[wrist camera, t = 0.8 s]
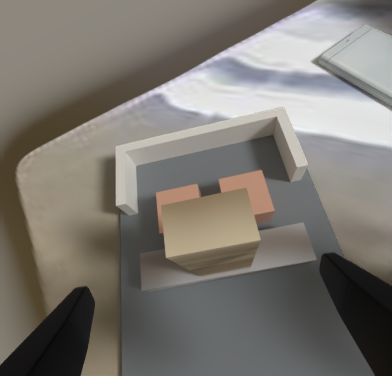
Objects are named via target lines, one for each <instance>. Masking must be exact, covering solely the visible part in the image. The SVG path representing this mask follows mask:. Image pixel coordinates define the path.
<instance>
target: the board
mask: <svg viewBox="0 0 392 376" xmlns="http://www.w3.org/2000/svg"><path fill="white" fill-rule="evenodd" d="M259 170H262V172H263V175H264V178H265V182H266V185H267V188H268V191H269V194H270V197H271V200H272V204H273V207H274V210H275V212H274V214H273V217H272V219H271V221H269V222H264V223H259V224H257V228H258V231H261V230H266V229H271V228H277V227H282V226H287V225H292V224H297V223H304V225H305V228H306V231H307V234H308V236H309V239H310V242H311V244H312V247H313V250H314V253H315V255H316V258H317V260H316V261H314V262H312V263H309V264H305V265H300V266H294V267H288V268H283V269H277V270H271V271H266V272H260V273H254V274H249V275H243V276H237V277H232V278H226V279H220V280H215V281H209V282H203V283H198V284H192V285H186V286H181V287H175V288H169V289H164V290H158V291H152V292H150V291H142V289H141V267H140V254H141V253H146V252H152V251H157V250H162V249H165V243H164V237H163V236H162V235H160V234H159V223H158V211H157V199H156V192H161V191H165V190H170V189H175V188H179V187H184V186H189V185H193V184H198V187H199V190H200V192H201V195H202V197H204V196H209V195H213V194H218V193H221V190H220V185H219V180H218V179H221V178H226V177H231V176H235V175H240V174H245V173H249V172H254V171H259ZM136 178H137V200H138V214H135V215H130V216H129V215H128V214H126V213H125V212H124V211H122V210H121V209H120V243H121V340H122V376H375V375H374V373H373V372H372V370H371V368H370V367H369V365H368V363H367V362H366V360H365V358H364V356H363V355H362V353H361V351H360V350H359V348H358V346H357V345H356V343H355V341H354V339H353V338H352V336H351V334H350V333H349V331H348V329H347V328H346V326H345V324H344V322H343V321H342V319H341V317H340V315H339V314H338V312H337V310H336V307H335V305H334V303H333V301H332V299H331V297H330V295H329V292H328V290H327V288H326V286H325V284H324V282H323V279H322V277H321V275H320V272H319V266H320V261H321V256H322V254H323V253H329V252H334V253H337V254H338V255H340V256H342V257H343V258H344V256H343V254H342V251H341V249H340V246H339V244H338V242H337V239H336V237H335V234H334V232H333V230H332V227H331V225H330V222H329V220H328V218H327V215H326V213H325V210H324V208H323V206H322V203H321V201H320V198H319V196H318V194H317V191H316V189H315V186H314V184H313V182H312V179H311V177H310V174H309V172H308V170H307V169H306V171H305V173H304V175H303V177H302V179H301V180H299V181H294V182H290V179H289V176H288V174H287V171H286V168H285V166H284V163H283V160H282V158H281V155H280V152H279V149H278V147H277V144H276V141H275V139H274V136H273V135H270V136H266V137H261V138H257V139H252V140H248V141H244V142H239V143H235V144H230V145H226V146H221V147H217V148H213V149H208V150H204V151H199V152H195V153H190V154H186V155H182V156H177V157H173V158H168V159H164V160H159V161H155V162H151V163H146V164H142V165H137V166H136Z"/></svg>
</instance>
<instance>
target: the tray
mask: <svg viewBox="0 0 392 376" xmlns="http://www.w3.org/2000/svg"><path fill="white" fill-rule="evenodd" d="M270 135H273V136H274V139H275V141H276V144H277V147H278V149H279V152H280V155H281V158H282V160H283V163H284V166H285V168H286V171H287V174H288V176H289V179H290V182H294V181H299V180H301V179H302V177H303V175H304V173H305V171H306V169H307V167H308V163H307V160H306V158H305V155H304V153H303V151H302V148H301V146H300V144H299V141H298V139H297V137H296V134H295V132H294V129H293V127H292V125H291V122H290V120H289V118H288V115H287V113H286V111H285V108H284V107H280V108H276V109H271V110H267V111H263V112H259V113H254V114H250V115H246V116H242V117H237V118H233V119H229V120H225V121H220V122H216V123H212V124H208V125H203V126H199V127H195V128H191V129H186V130H182V131H178V132H174V133H169V134H165V135H161V136H157V137H152V138H148V139H144V140H140V141H135V142H131V143H127V144H123V145H118V146H116V206H117V207H118V208H119V209H121V210H122V211H124V212H125V213H126V214H128V215H129V216H130V215H135V214H138V200H137V178H136V166H137V165H142V164H146V163H151V162H155V161H159V160H164V159H168V158H173V157H177V156H182V155H186V154H190V153H195V152H199V151H204V150H208V149H213V148H217V147H221V146H226V145H230V144H235V143H239V142H244V141H248V140H252V139H257V138H261V137H266V136H270Z"/></svg>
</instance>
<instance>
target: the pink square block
mask: <svg viewBox="0 0 392 376" xmlns="http://www.w3.org/2000/svg"><path fill="white" fill-rule="evenodd" d="M199 197H202V195H201V192H200V190H199V187H198V184H193V185H189V186H184V187H179V188H175V189H170V190H165V191H161V192H156V199H157V211H158V223H159V234H160V235H162V236H163V237H164V232H163V221H162V210H161V205H166V204H170V203H175V202H180V201H185V200H189V199H194V198H199Z"/></svg>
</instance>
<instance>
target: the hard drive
mask: <svg viewBox="0 0 392 376" xmlns="http://www.w3.org/2000/svg"><path fill="white" fill-rule="evenodd" d="M318 63H319V64H321V65H322V66H324V67H326V68H327V69H329V70H331V71H332V72H334V73H336V74H337V75H339V76H341V77H342V78H344V79H346V80H347V81H349V82H351V83H353V84H354V85H356V86H358V87H359V88H361V89H363V90H364V91H366V92H368V93H369V94H371V95H373V96H375V97H376V98H378V99H380V100H381V101H383V102H385V103H386V104H388V105H390V106H391V107H392V36H391V35H389V34H387V33H384V32H382V31H380V30H378V29H376V28H373V27H371V26H368V25H364V26H362V27H361V28H359V29H358V30H356V31H355V32H353V33H352V34H351V35H349V36H348V37H346V38H345V39H343V40H342V41H341V42H339V43H338V44H336V45H335V46H334V47H332V48H331V49H329V50H328V51H327V52H325V53H324V54H323V55H322V56H320V58H319V60H318Z"/></svg>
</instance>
